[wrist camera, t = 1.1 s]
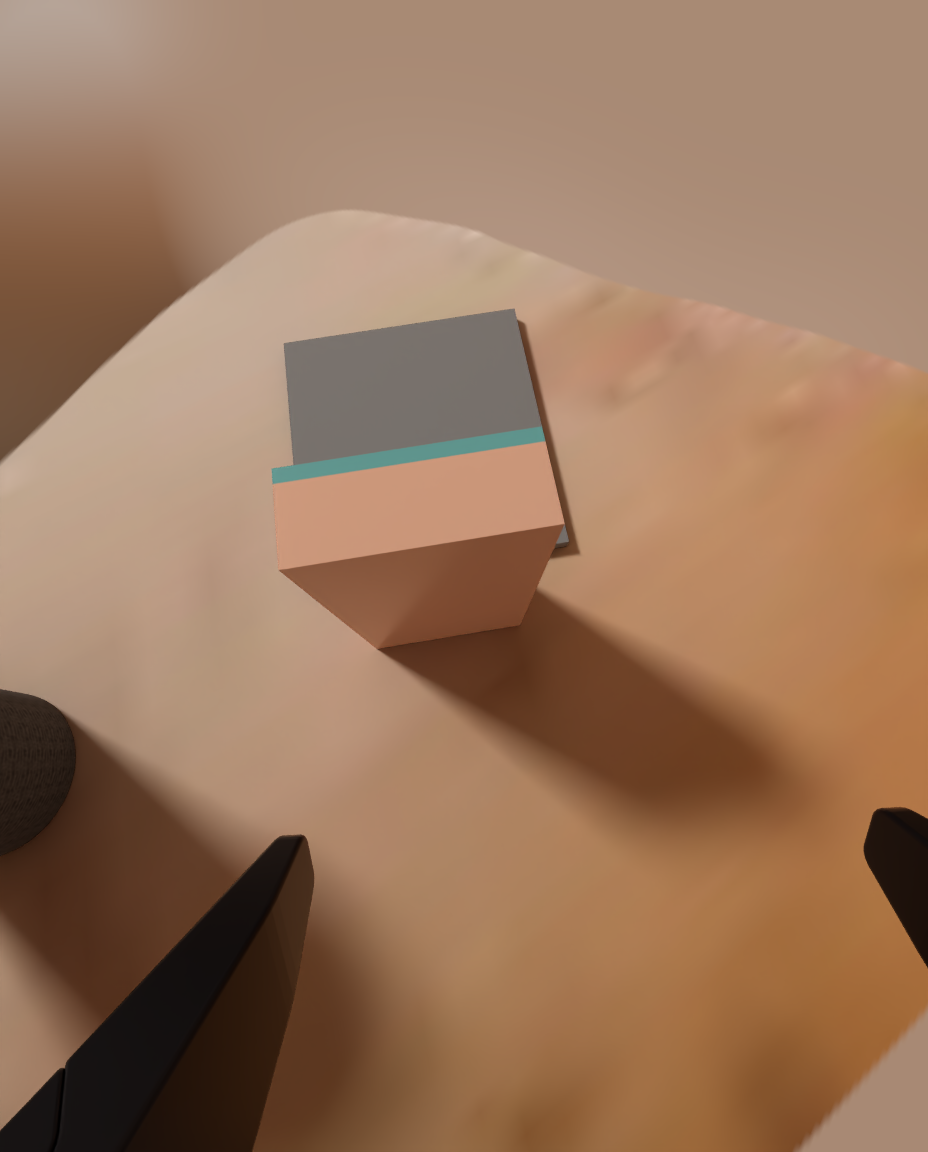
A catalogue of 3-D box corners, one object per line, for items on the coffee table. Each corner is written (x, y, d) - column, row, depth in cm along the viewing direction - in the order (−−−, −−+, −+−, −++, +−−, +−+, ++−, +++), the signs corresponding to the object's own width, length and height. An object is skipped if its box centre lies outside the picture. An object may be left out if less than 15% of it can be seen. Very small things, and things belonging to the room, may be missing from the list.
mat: (566, 546, 24) (568, 541, 24) (307, 588, 24) (303, 585, 23) (513, 317, 28) (514, 308, 27) (287, 351, 27) (283, 343, 27)
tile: (520, 625, 23) (565, 523, 12) (376, 648, 23) (278, 570, 12) (509, 571, 24) (541, 426, 12) (370, 594, 24) (271, 469, 12)
